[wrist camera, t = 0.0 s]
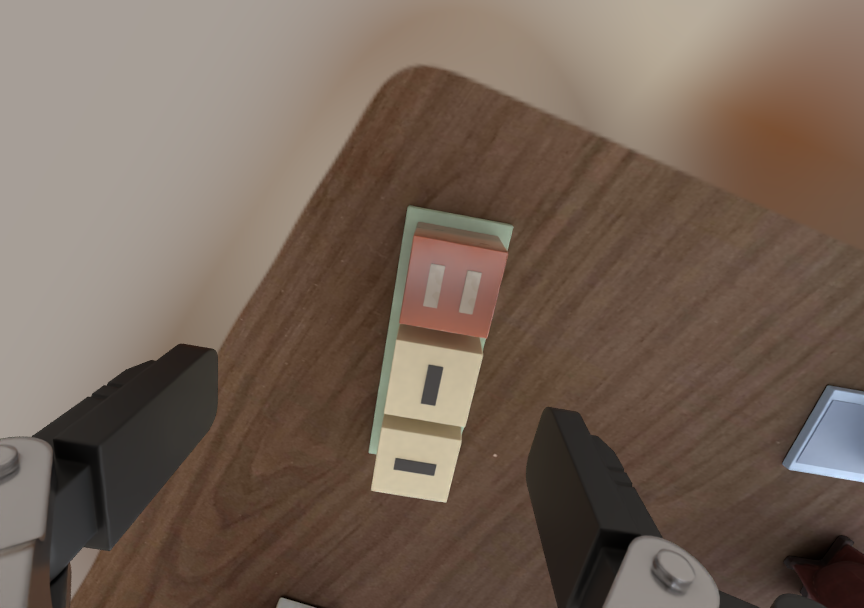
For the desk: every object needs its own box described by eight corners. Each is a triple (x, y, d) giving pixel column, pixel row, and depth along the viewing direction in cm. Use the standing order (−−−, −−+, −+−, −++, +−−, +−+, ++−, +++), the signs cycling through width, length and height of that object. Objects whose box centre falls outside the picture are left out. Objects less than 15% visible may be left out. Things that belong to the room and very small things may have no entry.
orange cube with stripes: (418, 221, 24) (413, 235, 20) (498, 236, 24) (509, 253, 20) (405, 297, 26) (398, 324, 22) (480, 311, 26) (487, 339, 22)
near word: (408, 204, 24) (400, 217, 20) (512, 224, 24) (527, 241, 20) (369, 447, 30) (357, 499, 26) (453, 461, 30) (455, 514, 26)
